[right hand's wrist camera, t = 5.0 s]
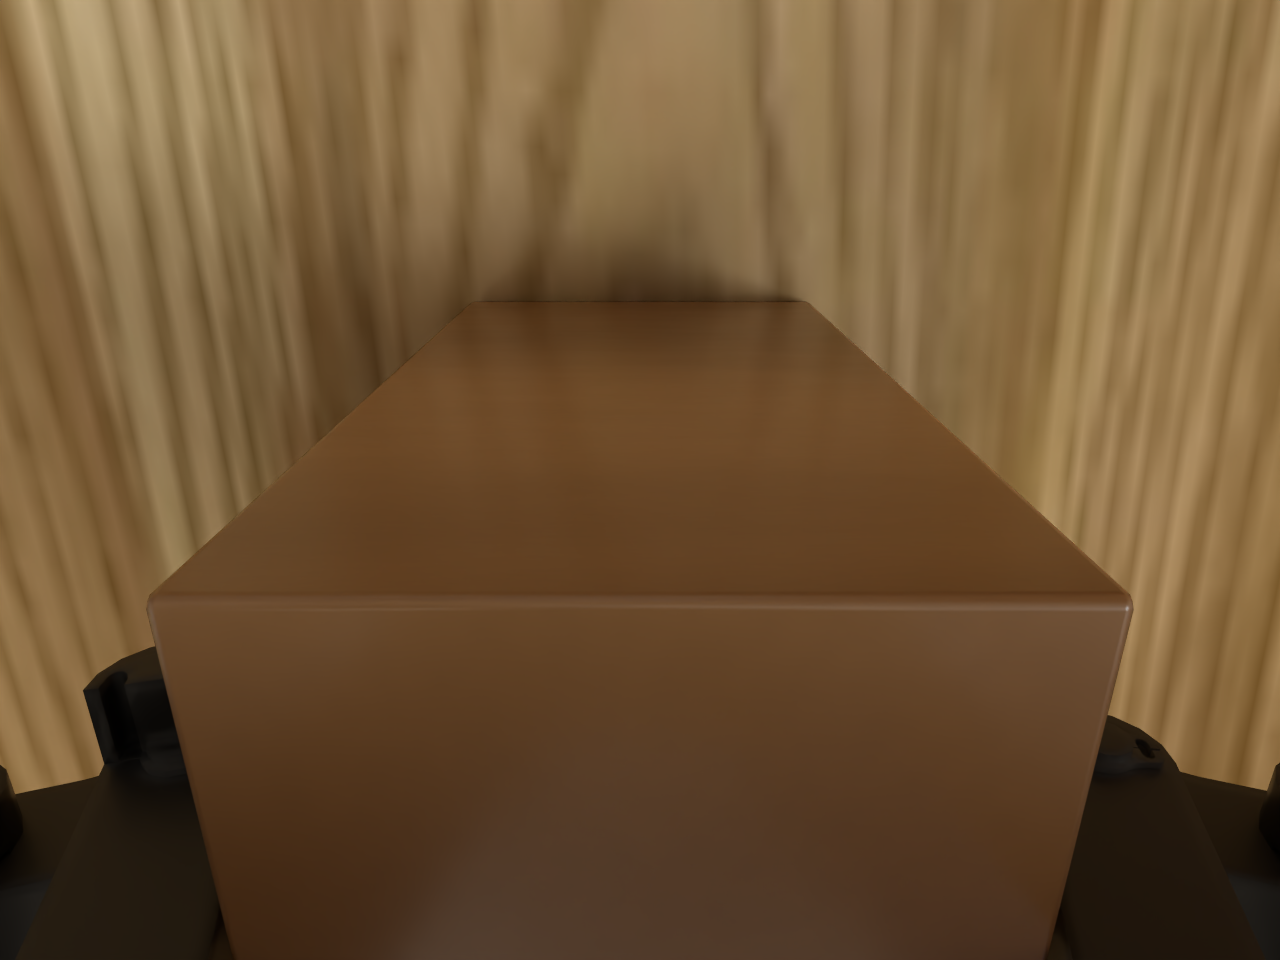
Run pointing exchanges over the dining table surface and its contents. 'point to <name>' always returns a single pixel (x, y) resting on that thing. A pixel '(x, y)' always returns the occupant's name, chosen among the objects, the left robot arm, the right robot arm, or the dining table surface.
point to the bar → (640, 661)
